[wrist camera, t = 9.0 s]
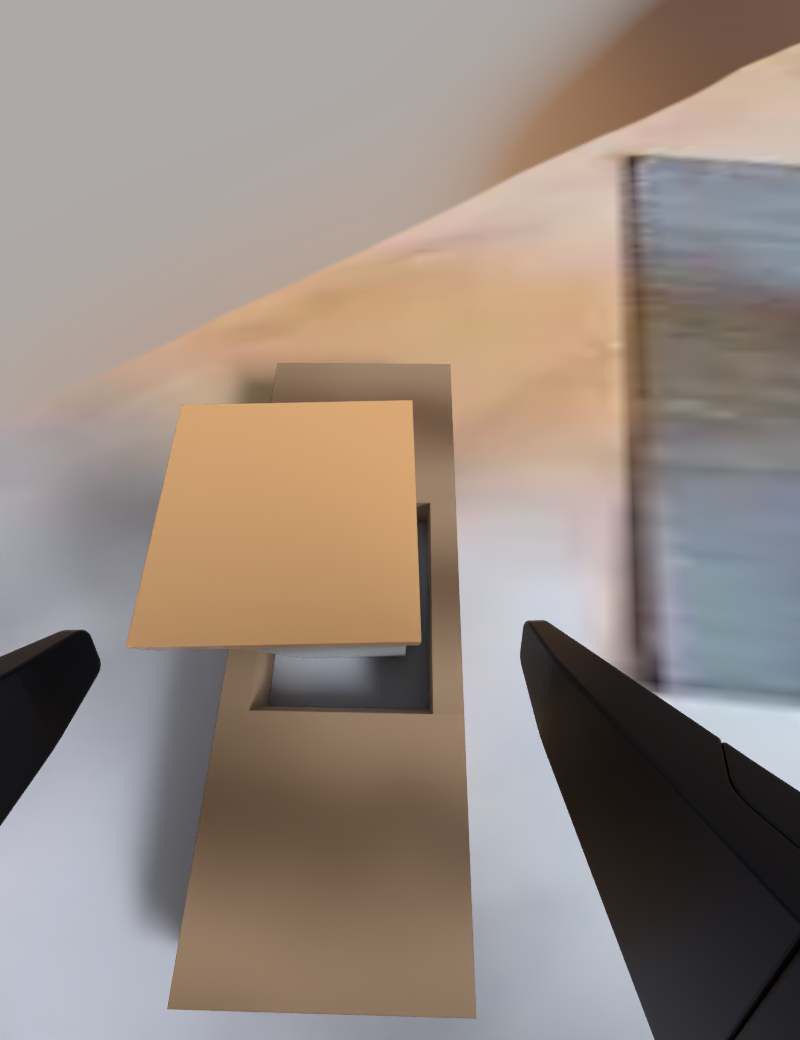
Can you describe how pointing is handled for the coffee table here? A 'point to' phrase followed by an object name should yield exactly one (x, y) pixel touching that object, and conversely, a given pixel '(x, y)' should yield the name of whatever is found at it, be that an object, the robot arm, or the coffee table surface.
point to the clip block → (285, 532)
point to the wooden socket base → (342, 798)
